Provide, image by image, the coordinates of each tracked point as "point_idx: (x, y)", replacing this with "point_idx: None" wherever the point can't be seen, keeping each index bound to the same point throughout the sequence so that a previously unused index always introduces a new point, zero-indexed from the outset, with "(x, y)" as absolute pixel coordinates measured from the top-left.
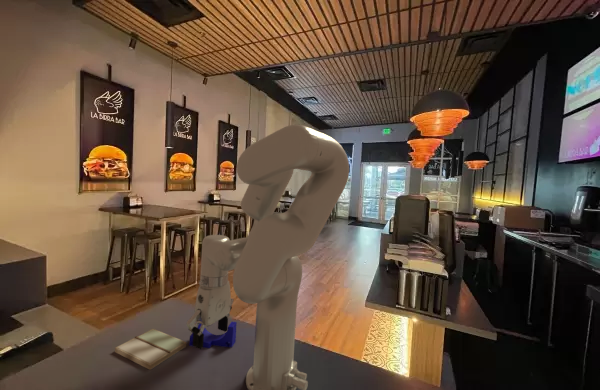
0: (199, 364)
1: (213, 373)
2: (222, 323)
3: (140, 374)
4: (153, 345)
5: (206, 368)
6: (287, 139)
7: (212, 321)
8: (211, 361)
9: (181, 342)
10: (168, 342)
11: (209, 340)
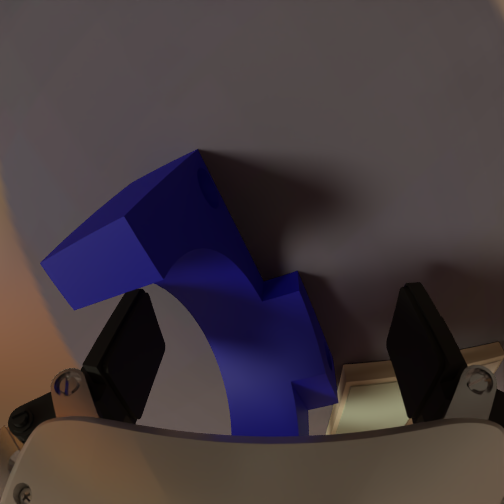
0: (447, 211)
1: (473, 84)
2: (137, 357)
3: None
4: (410, 424)
5: (460, 149)
6: None
7: (440, 460)
8: (402, 165)
9: (358, 392)
10: (377, 415)
11: (272, 314)
